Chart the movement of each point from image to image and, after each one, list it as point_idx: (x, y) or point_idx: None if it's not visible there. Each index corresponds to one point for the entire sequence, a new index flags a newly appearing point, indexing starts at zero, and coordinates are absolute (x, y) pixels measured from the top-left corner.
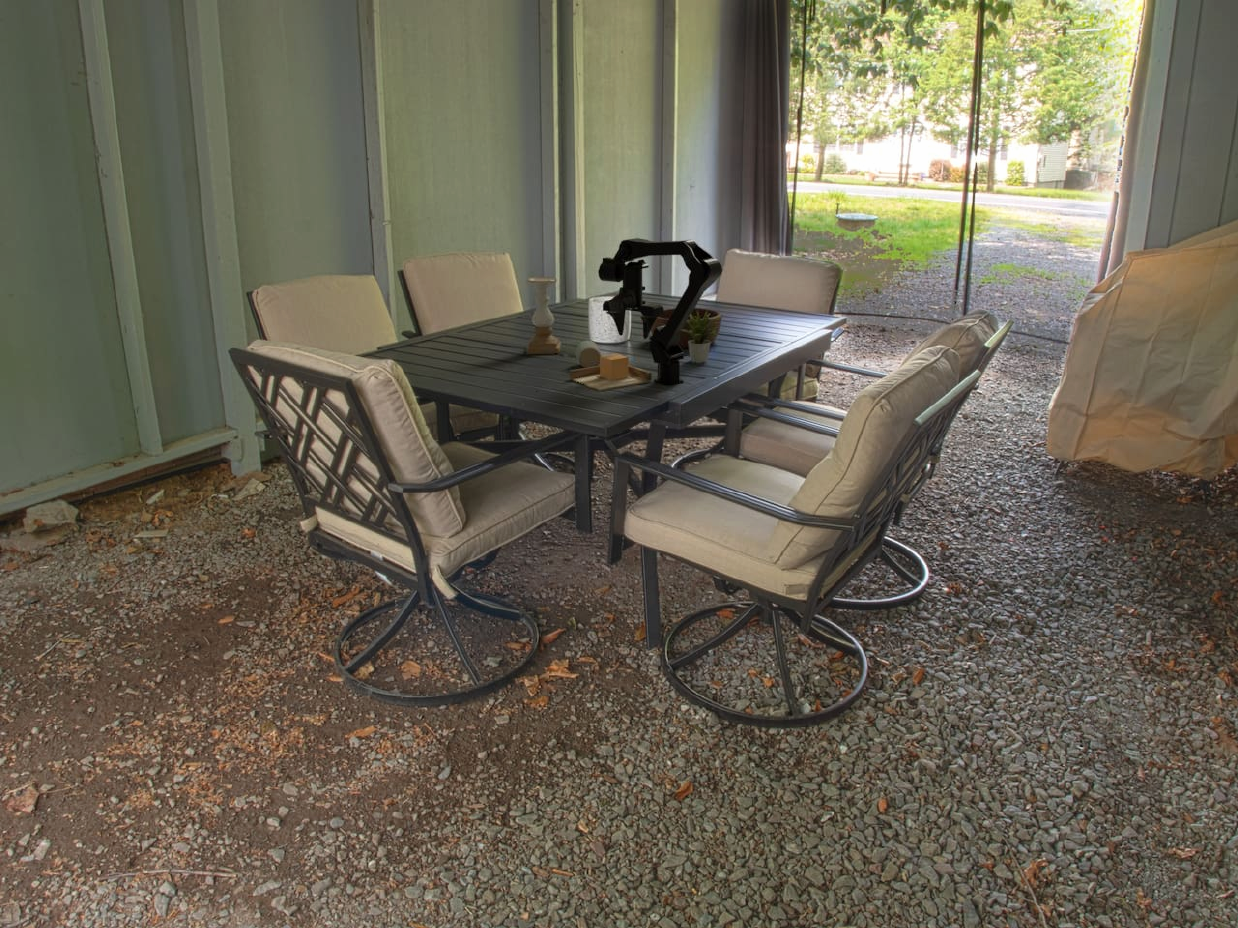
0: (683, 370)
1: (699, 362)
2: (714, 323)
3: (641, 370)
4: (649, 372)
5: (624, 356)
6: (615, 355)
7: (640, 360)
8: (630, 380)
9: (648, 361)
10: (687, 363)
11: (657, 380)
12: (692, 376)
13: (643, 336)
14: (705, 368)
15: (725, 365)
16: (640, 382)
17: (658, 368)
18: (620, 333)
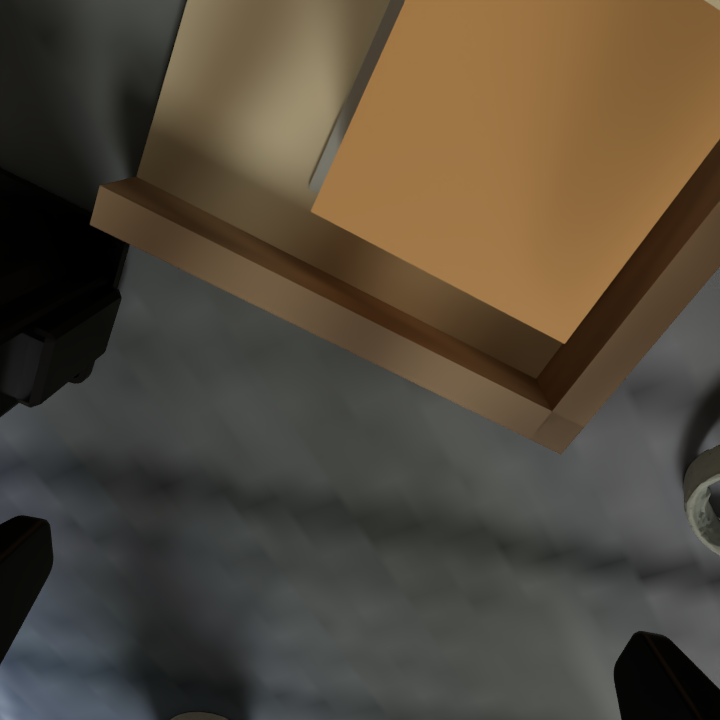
0: (153, 570)
1: (180, 716)
2: None
3: (219, 252)
4: (103, 211)
5: (381, 223)
6: (536, 224)
7: (523, 674)
8: (272, 87)
9: (463, 669)
10: (231, 692)
11: (70, 213)
12: (9, 472)
13: (4, 545)
14: (80, 640)
15: (41, 710)
16: (165, 90)
17: (46, 299)
18: (655, 667)
